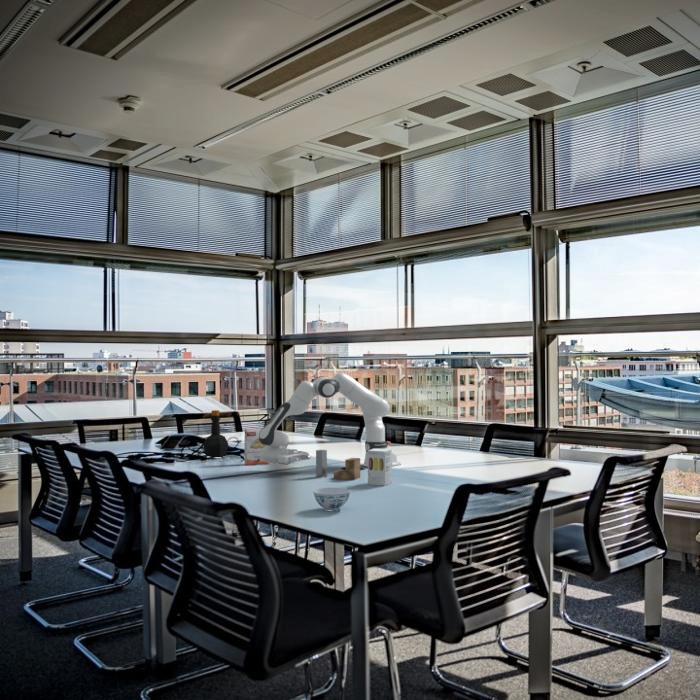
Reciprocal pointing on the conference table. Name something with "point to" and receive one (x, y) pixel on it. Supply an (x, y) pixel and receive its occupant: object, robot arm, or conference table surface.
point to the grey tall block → (321, 463)
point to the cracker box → (253, 447)
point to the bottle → (215, 439)
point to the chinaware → (331, 497)
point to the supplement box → (379, 466)
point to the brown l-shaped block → (349, 470)
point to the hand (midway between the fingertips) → (303, 458)
